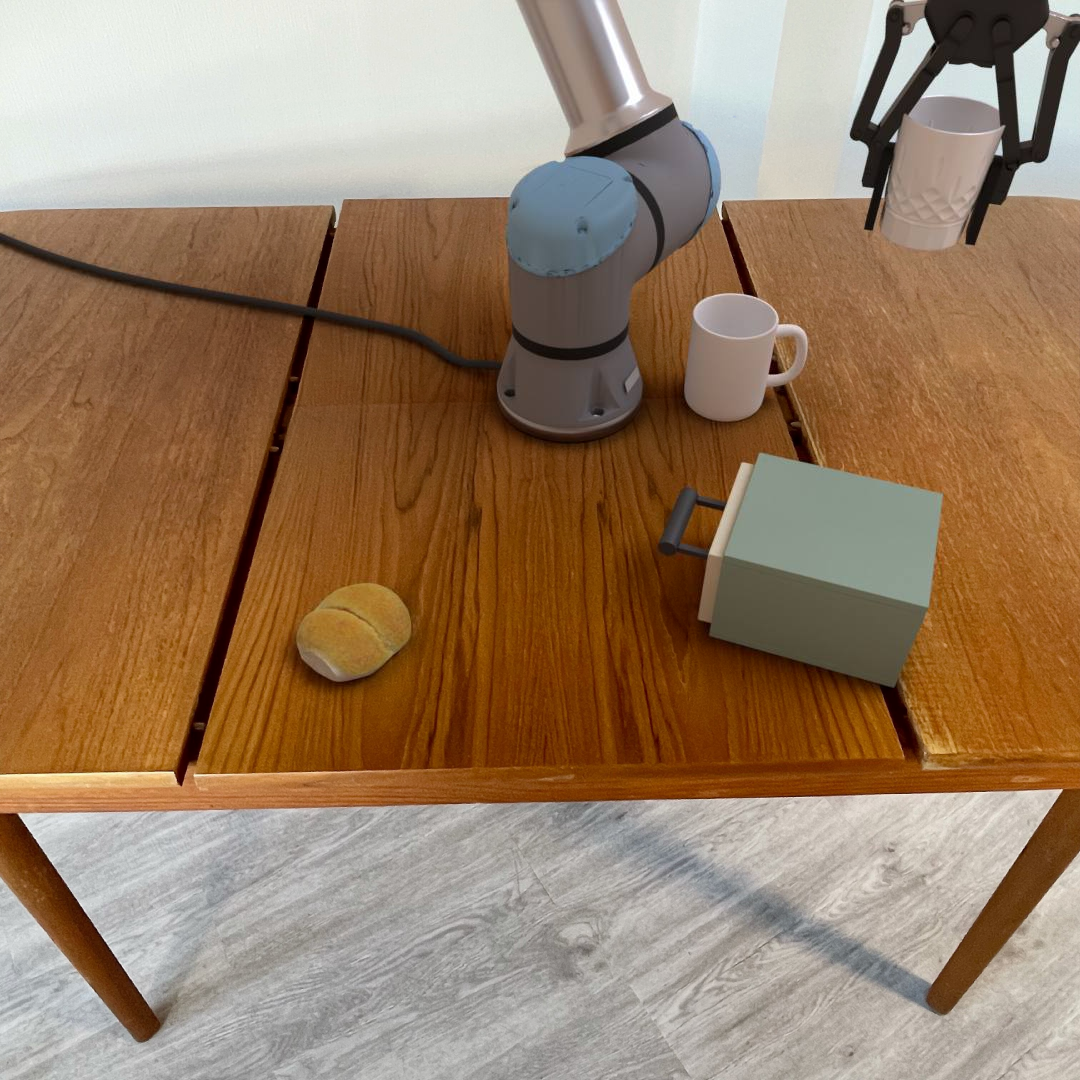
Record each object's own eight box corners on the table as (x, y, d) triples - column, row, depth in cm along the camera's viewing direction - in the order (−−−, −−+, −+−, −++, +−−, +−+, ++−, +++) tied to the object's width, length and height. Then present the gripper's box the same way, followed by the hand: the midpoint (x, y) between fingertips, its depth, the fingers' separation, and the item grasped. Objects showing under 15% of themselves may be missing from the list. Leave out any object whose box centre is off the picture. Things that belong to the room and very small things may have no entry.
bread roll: (430, 626, 76) (425, 594, 74) (355, 700, 71) (346, 669, 69) (358, 583, 80) (350, 551, 77) (281, 651, 75) (270, 619, 72)
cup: (678, 376, 100) (688, 293, 93) (789, 375, 100) (807, 291, 93) (688, 424, 95) (698, 339, 87) (805, 422, 95) (825, 337, 87)
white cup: (973, 259, 76) (1017, 136, 69) (875, 252, 77) (908, 130, 70) (959, 214, 82) (998, 97, 75) (868, 208, 83) (897, 92, 76)
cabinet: (708, 636, 75) (723, 554, 68) (742, 533, 83) (759, 452, 77) (893, 688, 71) (928, 607, 65) (910, 575, 80) (943, 493, 73)
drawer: (645, 605, 77) (652, 539, 71) (681, 515, 84) (690, 449, 78) (867, 666, 72) (892, 601, 66) (884, 566, 79) (909, 499, 74)
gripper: (854, -82, 63) (792, 232, 79) (1187, -59, 58) (1048, 270, 75) (865, -106, 68) (805, 194, 84) (1173, -87, 63) (1045, 228, 79)
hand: (919, 229), depth 79 cm, fingers closed on white cup, 8 cm apart
